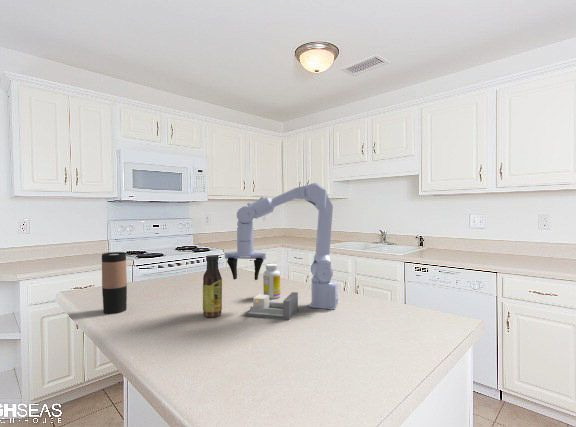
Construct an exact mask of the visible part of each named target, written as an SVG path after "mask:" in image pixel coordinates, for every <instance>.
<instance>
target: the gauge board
mask: <svg viewBox="0 0 576 427" xmlns="http://www.w3.org/2000/svg"><path fill="white" fill-rule="evenodd" d="M298 310H299V292H295V291H294V292H293V291H292V292H290V294H289V295H288V296H287V297H286V298H285V299H284V300H282V302H279V301H269V307H268V308H264V307H253V305H252V306H250V307H249V309H248V311H246V312H245V317H253V318H254V317H255V318H256V317H257V318H263V319H264V318H265V319H275V320H288V321H290V320H291V318H293V316H294V315H295V314H296V312H298Z"/></svg>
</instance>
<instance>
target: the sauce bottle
mask: <svg viewBox="0 0 576 427" xmlns="http://www.w3.org/2000/svg"><path fill="white" fill-rule="evenodd" d="M205 257H206V260H205V261H206V270H205V272H204V274H203V277H202V281H203V282H202V312H203V317H205V318H216V317H220V316H221V315H222V311H223V310H222V309H223V278H222V275H221V273H220V270H219V258H220V256H219V255H218V254H209V255H206V256H205Z"/></svg>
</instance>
